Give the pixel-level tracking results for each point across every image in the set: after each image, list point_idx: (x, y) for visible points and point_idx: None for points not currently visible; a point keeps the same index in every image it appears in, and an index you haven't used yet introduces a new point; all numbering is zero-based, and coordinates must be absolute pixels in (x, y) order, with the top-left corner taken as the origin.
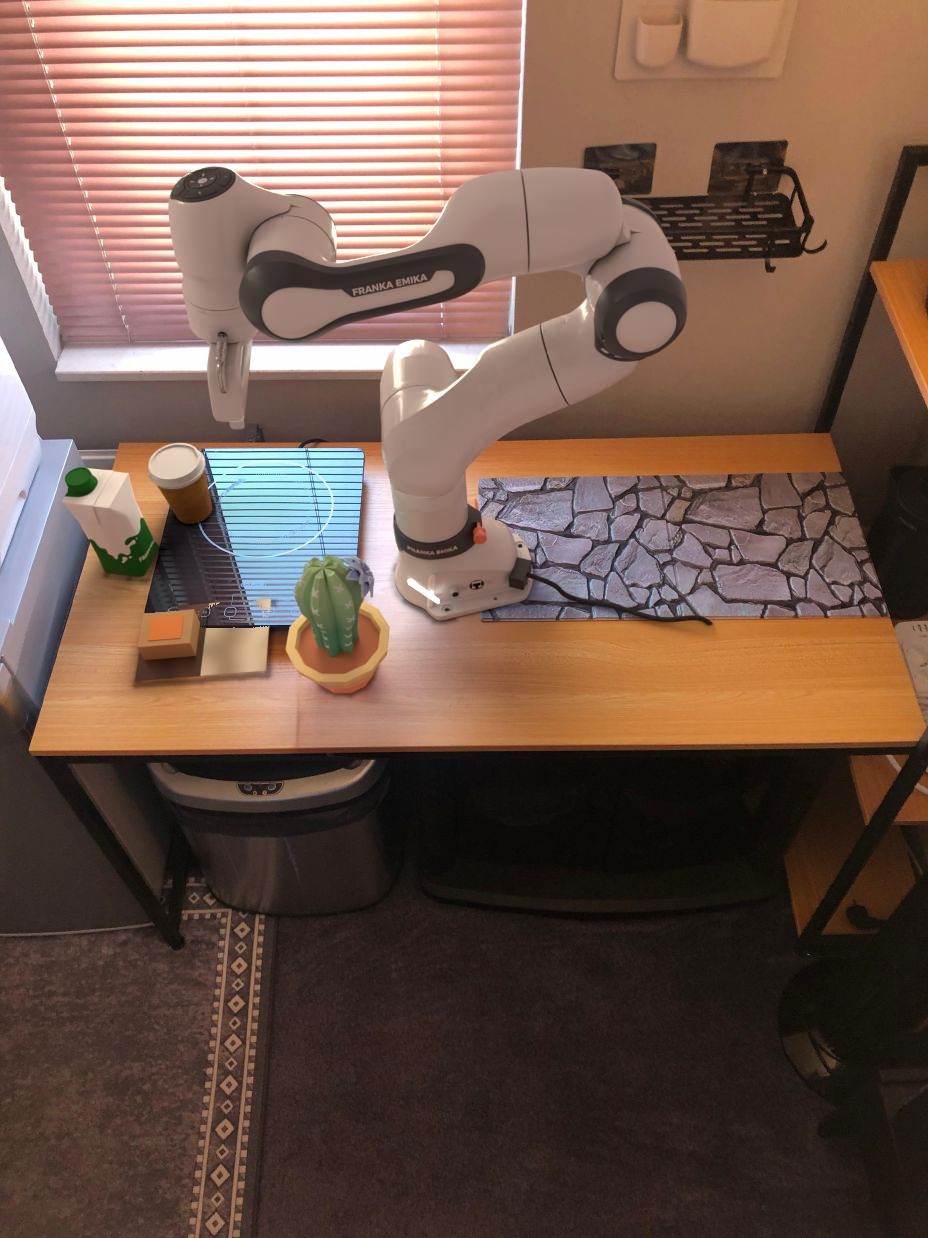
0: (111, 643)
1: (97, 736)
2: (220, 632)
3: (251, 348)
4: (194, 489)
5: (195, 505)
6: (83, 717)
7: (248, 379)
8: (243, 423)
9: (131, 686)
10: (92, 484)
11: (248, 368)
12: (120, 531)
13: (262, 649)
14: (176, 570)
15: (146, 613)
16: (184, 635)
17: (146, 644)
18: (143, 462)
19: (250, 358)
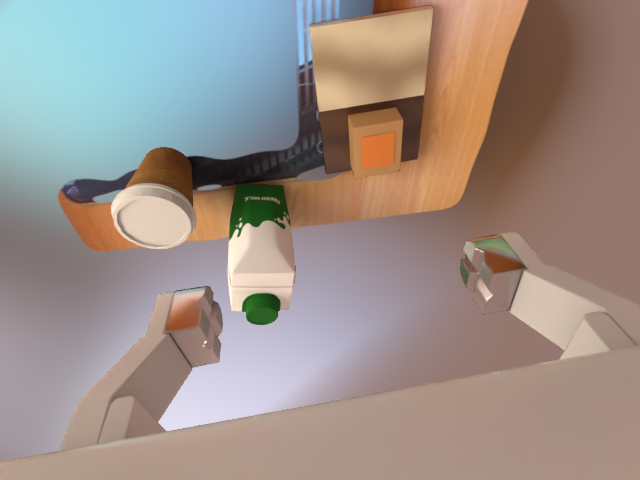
0: (361, 190)
1: (463, 170)
2: (364, 86)
3: (168, 461)
4: (175, 182)
5: (182, 170)
6: (439, 187)
7: (208, 287)
8: (526, 245)
9: None
10: (264, 298)
11: (448, 447)
12: (285, 240)
13: (398, 21)
14: (264, 160)
15: (355, 175)
16: (391, 128)
17: (397, 163)
18: (113, 234)
19: (273, 434)
